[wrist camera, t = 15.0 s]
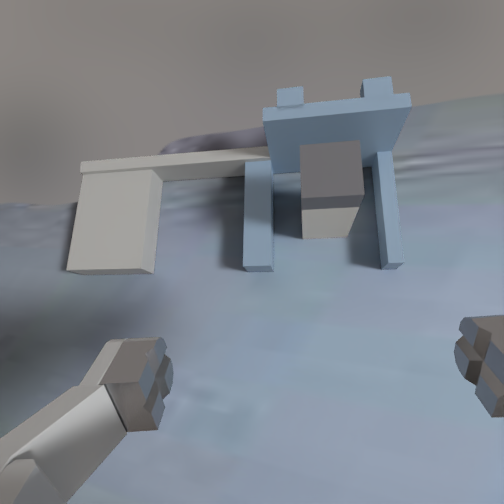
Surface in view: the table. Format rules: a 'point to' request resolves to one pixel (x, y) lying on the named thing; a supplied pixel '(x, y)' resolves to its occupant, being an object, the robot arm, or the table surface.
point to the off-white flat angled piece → (137, 205)
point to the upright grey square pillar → (330, 188)
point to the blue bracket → (325, 131)
